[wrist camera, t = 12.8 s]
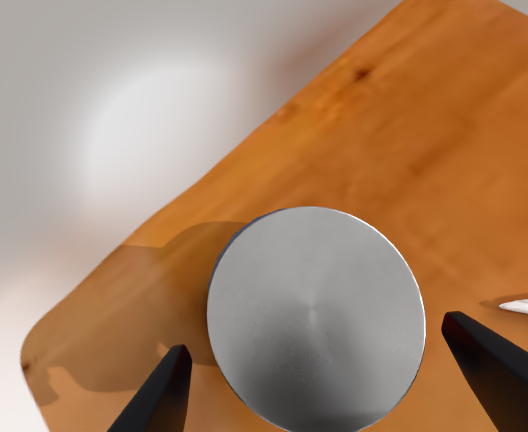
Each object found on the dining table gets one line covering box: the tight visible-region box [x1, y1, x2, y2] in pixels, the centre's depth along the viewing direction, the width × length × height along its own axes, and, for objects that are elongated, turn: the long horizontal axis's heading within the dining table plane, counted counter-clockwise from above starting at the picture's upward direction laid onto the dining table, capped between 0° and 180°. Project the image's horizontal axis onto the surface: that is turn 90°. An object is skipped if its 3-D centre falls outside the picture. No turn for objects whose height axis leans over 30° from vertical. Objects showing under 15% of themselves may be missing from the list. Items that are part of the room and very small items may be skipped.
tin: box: [207, 206, 426, 432], centre depth 13 cm, size 6×6×13 cm
